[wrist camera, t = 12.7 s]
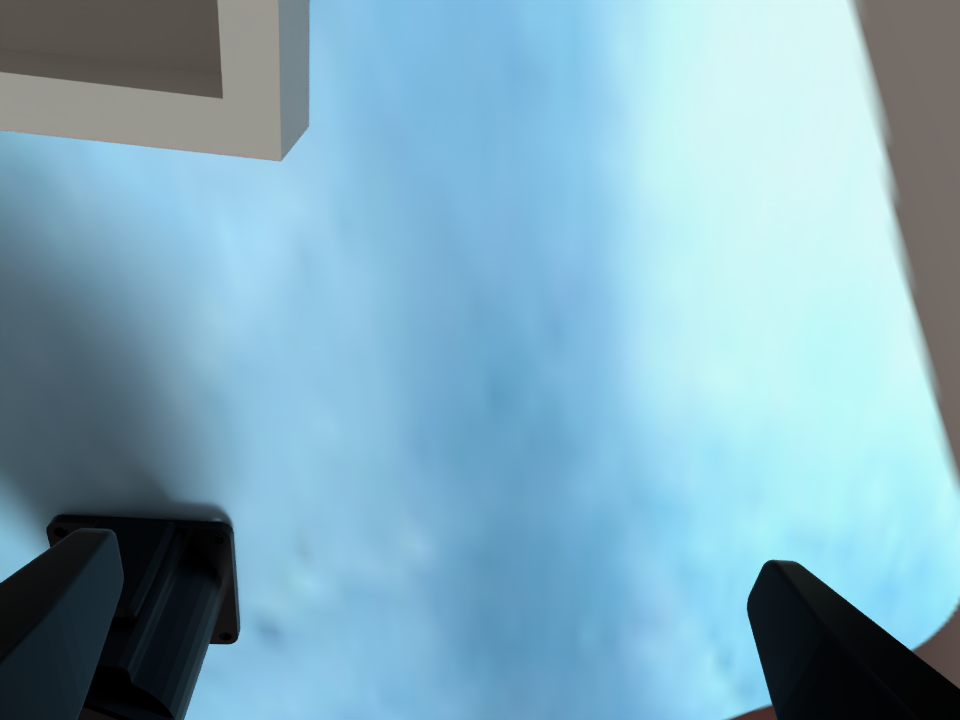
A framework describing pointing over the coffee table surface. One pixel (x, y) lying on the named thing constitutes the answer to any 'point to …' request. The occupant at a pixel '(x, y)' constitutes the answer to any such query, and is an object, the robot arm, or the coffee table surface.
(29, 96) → the bin
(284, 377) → the coffee table surface
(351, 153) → the coffee table surface
